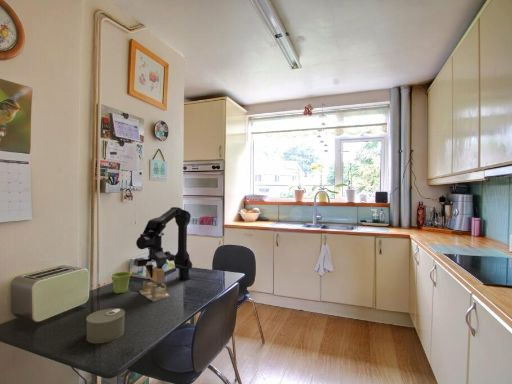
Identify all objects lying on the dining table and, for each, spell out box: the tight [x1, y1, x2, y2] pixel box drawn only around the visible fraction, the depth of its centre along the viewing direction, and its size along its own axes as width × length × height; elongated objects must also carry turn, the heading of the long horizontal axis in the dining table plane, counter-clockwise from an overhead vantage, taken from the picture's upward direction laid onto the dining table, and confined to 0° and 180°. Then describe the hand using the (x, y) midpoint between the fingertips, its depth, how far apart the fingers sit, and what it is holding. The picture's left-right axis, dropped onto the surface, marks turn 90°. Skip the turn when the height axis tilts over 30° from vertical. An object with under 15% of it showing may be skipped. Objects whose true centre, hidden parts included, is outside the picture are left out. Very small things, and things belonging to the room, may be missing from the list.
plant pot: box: [110, 271, 132, 294], centre depth 137 cm, size 9×9×9 cm
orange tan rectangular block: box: [145, 265, 165, 284], centre depth 133 cm, size 13×3×6 cm, turn 46°
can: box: [85, 307, 126, 344], centre depth 96 cm, size 12×12×7 cm
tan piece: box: [139, 280, 170, 302], centre depth 133 cm, size 15×8×6 cm, turn 46°
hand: (154, 277), depth 133 cm, fingers closed on orange tan rectangular block, 3 cm apart
